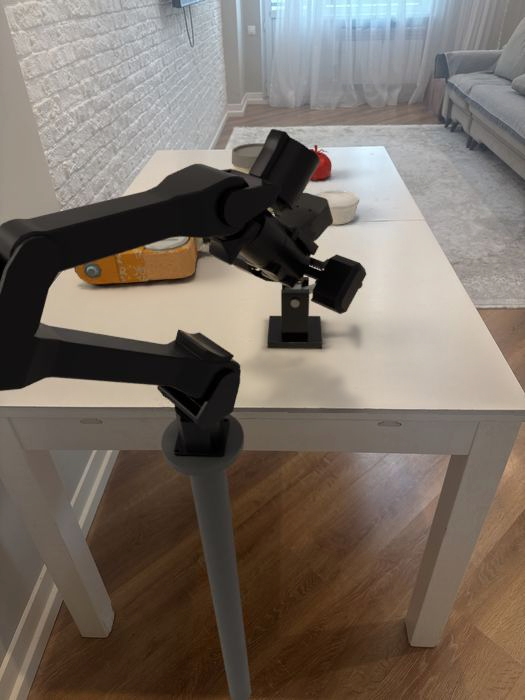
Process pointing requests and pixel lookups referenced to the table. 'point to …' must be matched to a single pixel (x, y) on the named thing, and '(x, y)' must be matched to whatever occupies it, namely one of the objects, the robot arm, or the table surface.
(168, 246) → the device
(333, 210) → the ramekin
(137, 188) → the table surface
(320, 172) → the red tomato
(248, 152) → the reusable coffee cup
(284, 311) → the bracket
